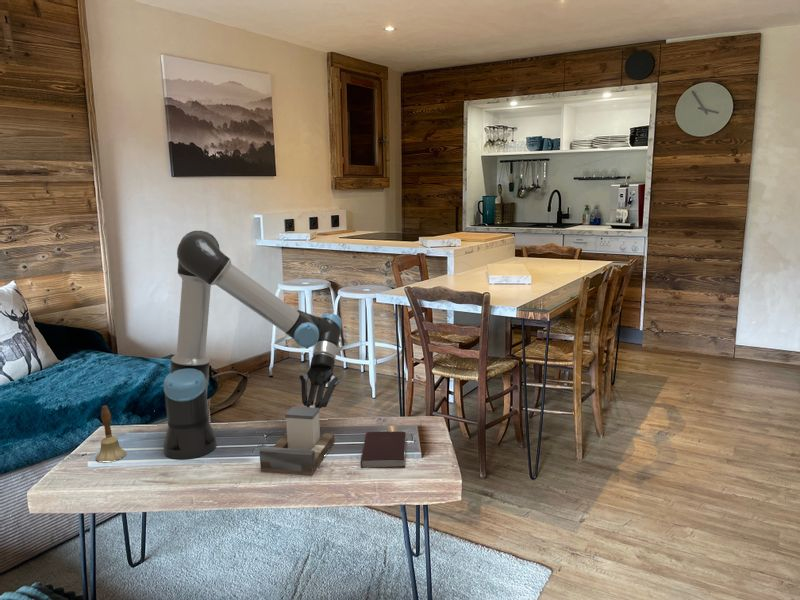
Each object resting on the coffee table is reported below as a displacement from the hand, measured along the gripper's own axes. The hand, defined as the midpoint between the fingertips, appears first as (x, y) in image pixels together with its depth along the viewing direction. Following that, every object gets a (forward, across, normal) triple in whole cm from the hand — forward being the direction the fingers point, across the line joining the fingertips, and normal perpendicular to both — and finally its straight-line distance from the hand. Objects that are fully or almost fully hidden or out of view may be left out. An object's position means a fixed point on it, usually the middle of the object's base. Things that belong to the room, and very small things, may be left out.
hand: (309, 427), depth 188 cm
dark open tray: (+10, 0, +2) cm, 10 cm away
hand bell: (+16, +56, +8) cm, 59 cm away
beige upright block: (+6, 0, 0) cm, 6 cm away
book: (+6, -24, -3) cm, 25 cm away
